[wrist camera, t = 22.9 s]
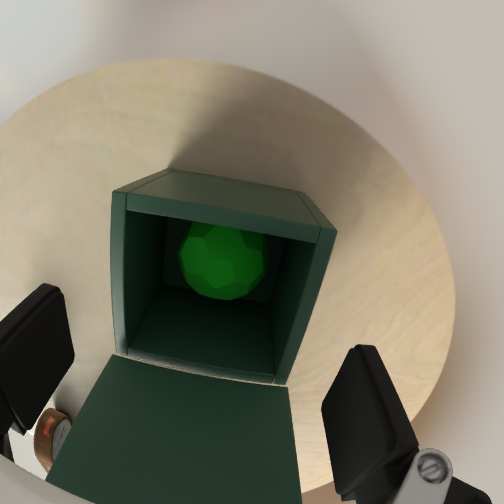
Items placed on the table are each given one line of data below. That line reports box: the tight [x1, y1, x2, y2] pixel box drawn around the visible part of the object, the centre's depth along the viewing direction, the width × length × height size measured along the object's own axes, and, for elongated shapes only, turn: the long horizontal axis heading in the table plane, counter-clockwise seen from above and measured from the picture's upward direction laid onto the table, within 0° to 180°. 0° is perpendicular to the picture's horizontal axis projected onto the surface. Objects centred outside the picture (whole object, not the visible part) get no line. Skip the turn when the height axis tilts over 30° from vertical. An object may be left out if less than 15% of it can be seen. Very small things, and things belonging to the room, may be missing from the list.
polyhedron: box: [177, 221, 268, 300], centre depth 16 cm, size 5×5×5 cm
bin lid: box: [45, 355, 302, 504], centre depth 10 cm, size 9×9×5 cm
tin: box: [34, 408, 72, 473], centre depth 26 cm, size 15×3×8 cm, turn 164°
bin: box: [110, 169, 337, 385], centre depth 16 cm, size 8×9×8 cm
